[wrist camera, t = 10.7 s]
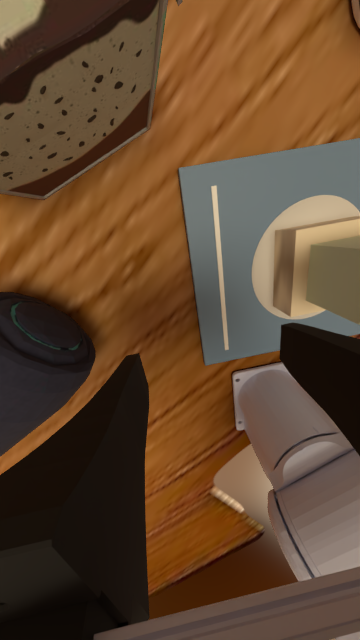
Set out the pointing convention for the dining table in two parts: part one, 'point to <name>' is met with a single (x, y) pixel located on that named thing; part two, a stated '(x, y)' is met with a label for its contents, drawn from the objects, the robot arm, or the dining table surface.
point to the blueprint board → (265, 242)
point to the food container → (73, 86)
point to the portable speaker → (37, 364)
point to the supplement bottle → (356, 11)
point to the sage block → (336, 277)
